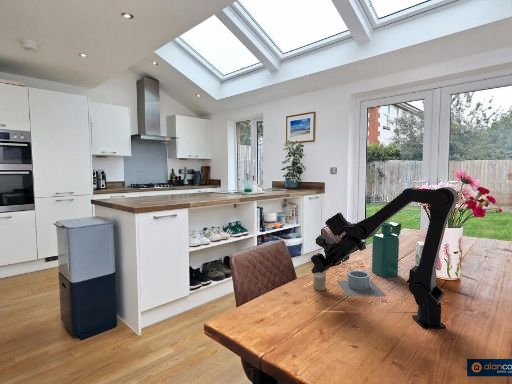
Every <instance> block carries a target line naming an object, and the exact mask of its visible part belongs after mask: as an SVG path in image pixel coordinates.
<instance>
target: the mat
mask: <svg viewBox="0 0 512 384" xmlns="http://www.w3.org/2000/svg"><path fill="white" fill-rule="evenodd" d="M336 282H337V283H338V285H339V286H340V289H341V290H342V291H343V293H344V294H345V296H348V297H387V294H385V292H384V291H383V290H382V289H381V288H380V287H379V286H378V285H377V284H376V283H375V282H374V281H373V280H370V287H369V289H366V290H357V289H353V288H350V287H349V286H348V285H347V280H336Z"/></svg>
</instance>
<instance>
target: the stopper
mask: <svg viewBox="0 0 512 384" xmlns="http://www.w3.org/2000/svg"><path fill="white" fill-rule="evenodd" d="M326 275H327V271H325V272H323V273H320V272H319V273H313V289H314V290H319V291H323V290H326V287H327V285H326V281H327V280H326V279H327V277H326Z"/></svg>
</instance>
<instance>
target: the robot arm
mask: <svg viewBox="0 0 512 384" xmlns="http://www.w3.org/2000/svg"><path fill="white" fill-rule="evenodd" d="M459 200H460V195H459V193H458V192H457V190H456V189H455V188H453V187H449V186H444V187H439V188H435V189H432V188H431V189H430V188H429V189H428V188H417V187H407V188H405V189H403V190H402V191H401V193H400V194H398V195H397V196H396V197H394V198H393V199H392V200H391V201H390V202H388V203H386V204H385V205H383V207H382V208H380V209H379V210H378V211H376V212H375V213H374V214H373V215H371V216H368V217H366V218H363V219H362V220H360V221H357V222H356V223H354V222H353V223H350V222H349V221H347V219H346V218H345V217H344V215H343V214H342V212H337V213H335V214H334V215H333V216H331V217H329V218H328V219H327V220H326V221H325V222H324V225H326V227H327V228H328V229H329V231H330V232H331V233H332V235H333V236H334V237H337V236H338V237H339V238H340V239H338V240H337V241H335V240H334V238H332V237H331V236H329V235H328V234H326V233H322V234H319V235H318V236H317V237H316V238H315V244H316V245H317V246H318V247H320V248H322V249H323V252H324V253H325V254H323V253H321V252H318V253H315V254H313V255H312V256H311V257H310V261H311V262H312V264H313V267H312V269H311V273H312V274H314V273H319V272H320V273H323V272H325V271H326V272H327V271H329V270H330V268H334V267H336V266H337V267H338V266H339V265H341V264H342V263H344V264H345V263H346V262H348V260H350V255H351V253H352V252H354V251H355V250H356V249H358V250H359V251H360V252H362V251H364V250H366V249H367V245H366V243H367V242H366V241H365V240H367V239H370V238H373V236H374V235H375V234H377V233H378V232H379V231H380V229H381V227H382V225H383V224H384V223H387V221H389V220H390V219H392V217H394V216H395V215H397V214H398V213H400V212H401V211H402V210H403V209H405V208H406V207H408V206H409V205H410V204H412V203H417V204H418V203H419V204H426V205H428V209H429V223H428V227H427V231H426V235H425V239H424V241H423V242H424V246H423V250H422V254H421V259H420V263H419V265H418V266H417V265H416V264H415V265H414V266H413V267H411V268H410V269H409V272H408V274H409V275H408V280H407V281H406V284H408V287H407V288H408V291H409V292H410V293H411V294H412V295H413V298H414V301H415V303H416V305H417V311H416V312H417V315H416V314H412V315H411V316H412V319H413V320H415V321H416V322H417V324H419V325H420V327H422V328H423V329H447V326H446V325H445V323H443V322H442V321H441V320H442V304H441V301H442V300H443V298H444V296H445V293H444V291H443V290H442V289H441V288H440V287H439V286H438V284H437V268H436V267H437V264H438V263H437V262H438V259H439V254H440V251H441V247H442V242H443V239H444V235H445V231H446V227H447V223H448V220H449V219H450V217H451V215H452V213H453V212H454V210H455V209H456V208H455V207H456V206H457V204H458V202H459Z"/></svg>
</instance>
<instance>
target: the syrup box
mask: <svg viewBox="0 0 512 384" xmlns="http://www.w3.org/2000/svg"><path fill="white" fill-rule="evenodd" d="M424 242H425V241H416V242H415V265H417V266H418V265H419V263H420V259H421V254H422V250H423V246H424Z"/></svg>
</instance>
